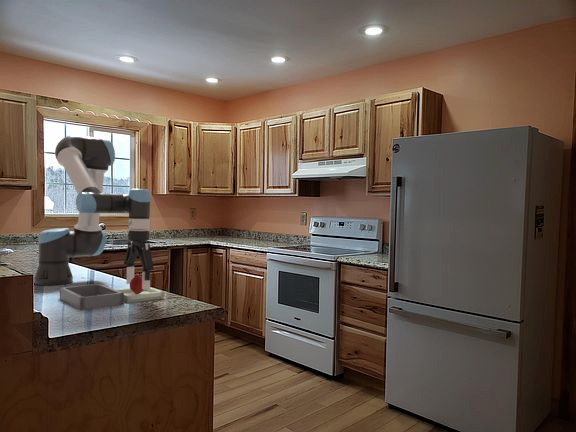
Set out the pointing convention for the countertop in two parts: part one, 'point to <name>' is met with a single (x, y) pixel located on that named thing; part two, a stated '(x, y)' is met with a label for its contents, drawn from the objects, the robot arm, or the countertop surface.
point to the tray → (141, 295)
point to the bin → (91, 296)
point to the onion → (136, 284)
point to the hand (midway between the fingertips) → (137, 286)
